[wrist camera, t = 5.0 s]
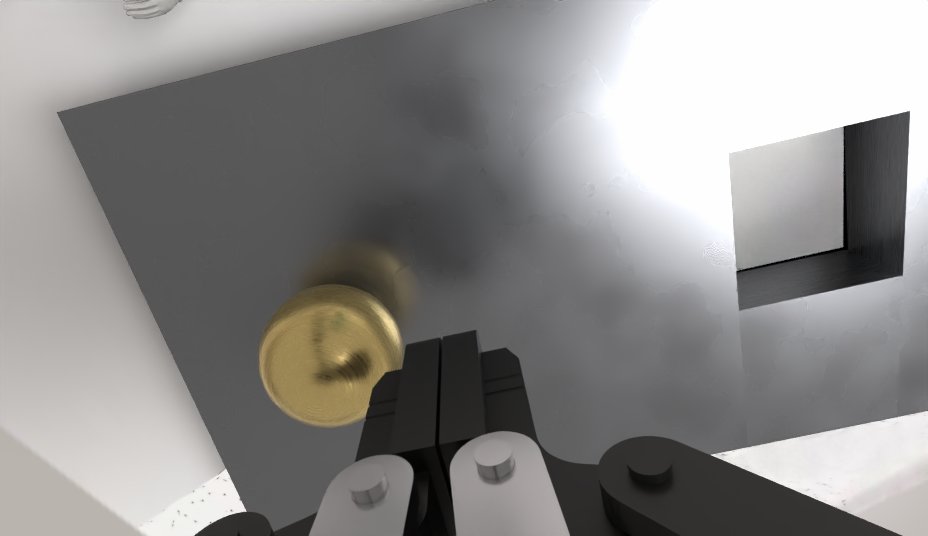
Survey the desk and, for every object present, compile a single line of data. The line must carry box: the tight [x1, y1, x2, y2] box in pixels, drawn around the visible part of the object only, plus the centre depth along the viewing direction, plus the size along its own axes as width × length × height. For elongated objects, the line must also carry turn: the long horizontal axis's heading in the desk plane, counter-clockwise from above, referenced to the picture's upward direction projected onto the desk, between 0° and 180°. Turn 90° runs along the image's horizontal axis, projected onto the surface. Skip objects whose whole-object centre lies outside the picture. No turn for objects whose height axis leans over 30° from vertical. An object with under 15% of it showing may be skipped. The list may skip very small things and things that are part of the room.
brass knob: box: [258, 284, 404, 428], centre depth 14 cm, size 4×4×4 cm
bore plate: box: [57, 0, 928, 532], centre depth 16 cm, size 14×24×2 cm, turn 103°
